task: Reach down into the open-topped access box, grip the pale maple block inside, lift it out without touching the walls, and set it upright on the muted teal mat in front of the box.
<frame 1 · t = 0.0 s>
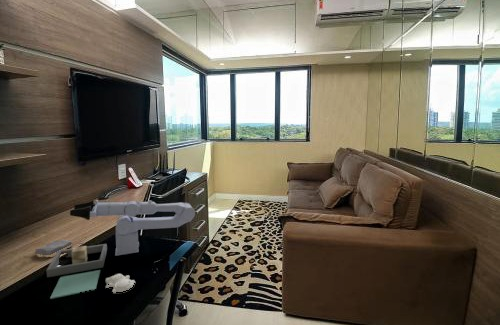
hand: (72, 210, 108), 22 cm above the table, tool horizontal, fingers open, 7 cm apart
access box: (80, 262, 108), on the table
stone block: (53, 252, 117), on the table
teal mat: (77, 283, 93), on the table
white fluffy flat lump: (119, 285, 94), on the table
maple block: (79, 255, 108), in the access box
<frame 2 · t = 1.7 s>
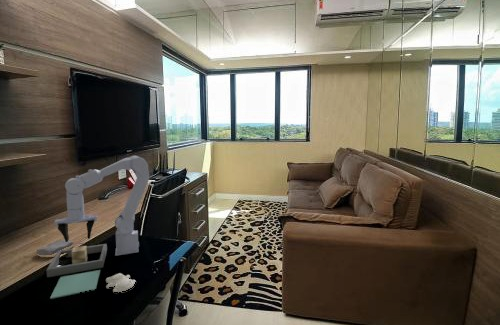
hand: (78, 239, 107), 10 cm above the table, tool pointing down, fingers open, 7 cm apart
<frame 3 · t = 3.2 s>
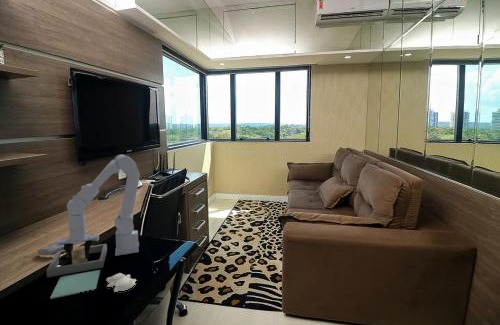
hand: (79, 259, 108), 1 cm above the table, tool pointing down, fingers closed on maple block, 4 cm apart
maple block: (79, 255, 108), in the access box, touching gripper
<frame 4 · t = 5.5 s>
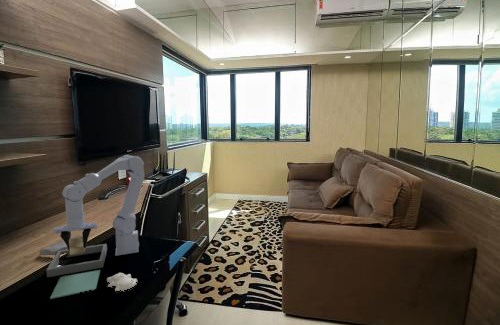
hand: (77, 247, 103), 8 cm above the table, tool pointing down, fingers closed on maple block, 4 cm apart
stone block: (58, 252, 117), on the table
maple block: (77, 244, 103), point 10 cm above the table, touching gripper
everything else where it was.
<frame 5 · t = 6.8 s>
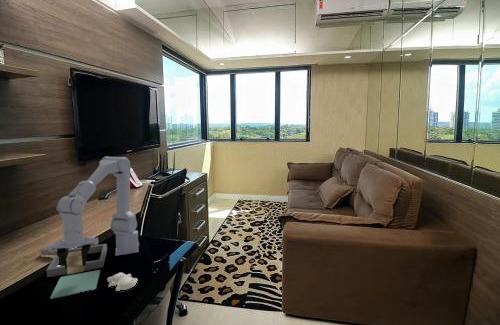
hand: (76, 266, 92), 7 cm above the table, tool pointing down, fingers closed on maple block, 4 cm apart
maple block: (75, 261, 93), point 8 cm above the table, touching gripper
when the fingers open (3 cm above the table, at t = 7.8 s): maple block drops 1 cm, resting on teal mat.
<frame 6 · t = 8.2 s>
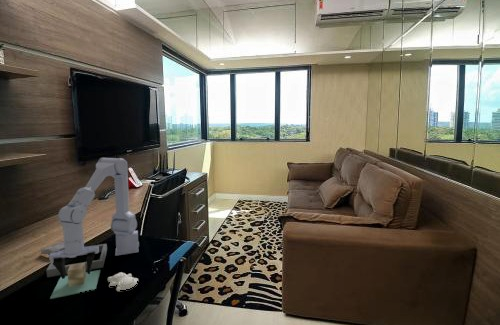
hand: (76, 274, 93), 3 cm above the table, tool pointing down, fingers open, 7 cm apart
maple block: (77, 274, 93), on the teal mat
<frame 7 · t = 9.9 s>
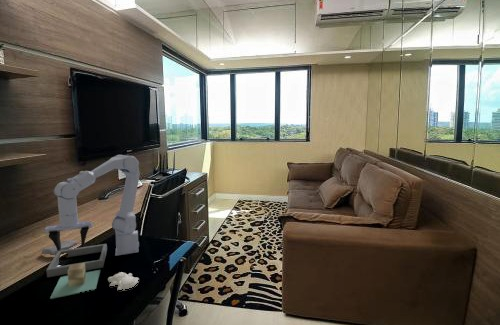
hand: (71, 247, 99), 10 cm above the table, tool pointing down, fingers open, 7 cm apart
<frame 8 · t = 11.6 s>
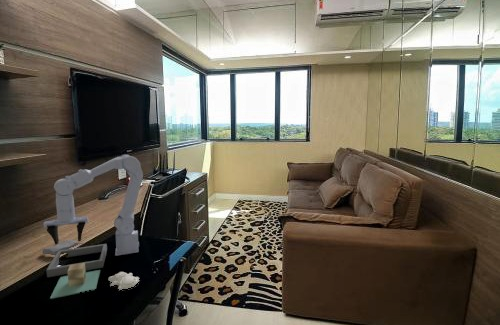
hand: (68, 241, 104), 10 cm above the table, tool pointing down, fingers open, 7 cm apart
at the end: maple block inside the target area (0.3 cm from its centre), resting on teal mat; maple block tilted 0°; maple block touching teal mat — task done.
